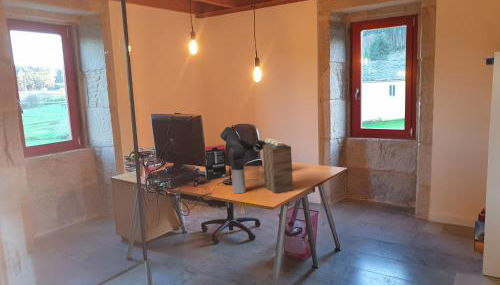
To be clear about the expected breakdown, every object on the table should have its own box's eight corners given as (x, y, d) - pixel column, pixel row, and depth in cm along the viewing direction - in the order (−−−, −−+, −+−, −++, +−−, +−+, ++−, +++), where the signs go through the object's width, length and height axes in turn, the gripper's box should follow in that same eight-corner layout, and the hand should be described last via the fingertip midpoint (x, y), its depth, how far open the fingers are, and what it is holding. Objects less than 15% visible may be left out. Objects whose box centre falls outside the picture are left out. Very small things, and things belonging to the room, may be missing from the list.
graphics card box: (225, 175, 325) (222, 143, 319) (227, 177, 318) (224, 145, 313) (205, 178, 319) (202, 146, 314) (207, 180, 313) (204, 147, 308)
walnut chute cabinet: (265, 187, 284) (262, 143, 278) (282, 184, 288) (280, 140, 282) (275, 194, 267) (272, 147, 261) (293, 190, 272) (290, 144, 265)
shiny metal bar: (264, 142, 288) (264, 138, 287) (269, 141, 289) (269, 137, 289) (277, 147, 266) (277, 143, 265) (282, 146, 267) (282, 142, 266)
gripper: (250, 142, 313) (255, 136, 298) (266, 141, 317) (272, 135, 301) (251, 151, 311) (256, 146, 296) (267, 149, 315) (273, 144, 300)
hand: (264, 140), depth 299 cm, fingers open, 8 cm apart
